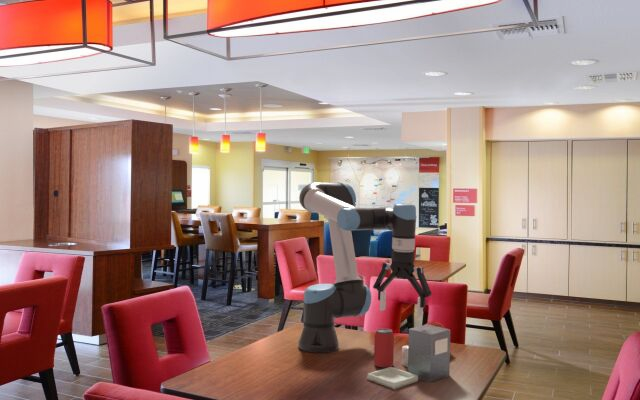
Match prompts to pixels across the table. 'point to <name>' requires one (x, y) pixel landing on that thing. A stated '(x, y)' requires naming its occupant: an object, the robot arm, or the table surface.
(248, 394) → the table surface
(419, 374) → the box
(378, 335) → the beer can
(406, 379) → the tray
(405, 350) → the white egg
